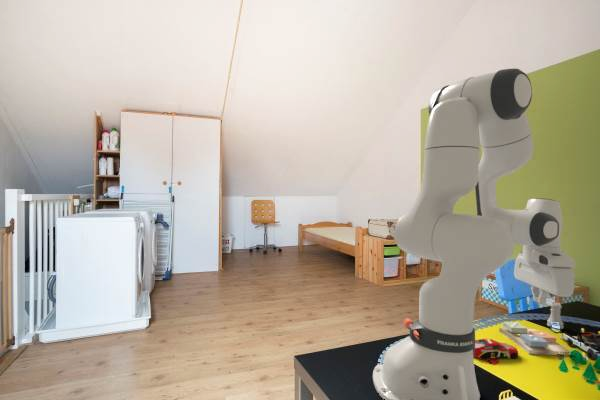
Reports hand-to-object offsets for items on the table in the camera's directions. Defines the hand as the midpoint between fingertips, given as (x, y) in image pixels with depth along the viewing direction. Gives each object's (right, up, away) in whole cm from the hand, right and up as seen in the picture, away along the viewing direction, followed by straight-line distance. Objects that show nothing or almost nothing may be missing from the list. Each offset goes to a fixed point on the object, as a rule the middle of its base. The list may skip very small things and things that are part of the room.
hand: (539, 303), depth 95 cm
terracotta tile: (+2, -11, +2) cm, 12 cm away
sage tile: (-3, -10, +7) cm, 13 cm away
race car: (-17, -13, -6) cm, 22 cm away
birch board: (0, -12, +2) cm, 12 cm away
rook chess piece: (+15, -12, +14) cm, 24 cm away
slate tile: (-3, -11, -2) cm, 11 cm away
